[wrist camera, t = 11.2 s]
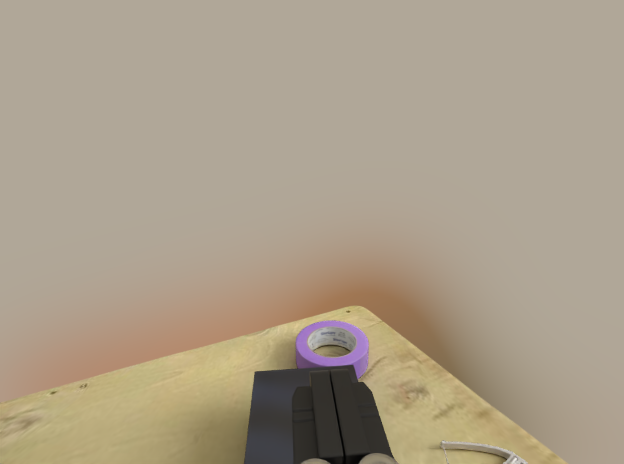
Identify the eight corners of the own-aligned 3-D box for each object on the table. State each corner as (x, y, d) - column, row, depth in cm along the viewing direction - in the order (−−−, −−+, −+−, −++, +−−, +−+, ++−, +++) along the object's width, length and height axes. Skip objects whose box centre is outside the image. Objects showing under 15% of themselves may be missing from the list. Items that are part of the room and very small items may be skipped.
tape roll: (377, 382, 52) (378, 361, 50) (299, 390, 50) (298, 368, 49) (357, 336, 63) (358, 317, 61) (293, 341, 61) (293, 323, 60)
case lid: (255, 376, 44) (254, 371, 43) (353, 369, 44) (353, 364, 44) (239, 518, 28) (238, 511, 28) (390, 503, 29) (391, 496, 29)
